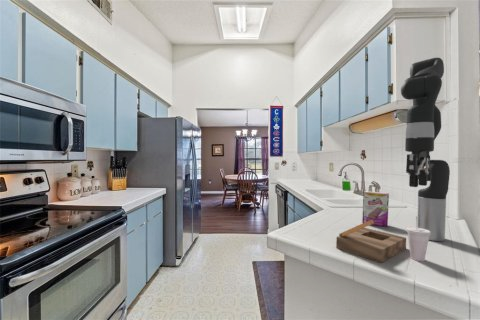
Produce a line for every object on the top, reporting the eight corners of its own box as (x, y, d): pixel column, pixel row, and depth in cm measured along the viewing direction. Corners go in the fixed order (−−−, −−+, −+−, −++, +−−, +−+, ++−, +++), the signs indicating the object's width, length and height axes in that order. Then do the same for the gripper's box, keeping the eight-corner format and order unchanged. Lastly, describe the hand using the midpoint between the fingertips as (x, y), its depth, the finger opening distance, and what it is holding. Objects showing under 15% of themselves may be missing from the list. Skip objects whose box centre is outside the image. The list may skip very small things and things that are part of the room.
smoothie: (400, 255, 80) (401, 214, 80) (418, 254, 80) (419, 214, 80) (416, 263, 73) (417, 219, 73) (435, 263, 74) (436, 219, 74)
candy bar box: (362, 223, 119) (363, 191, 119) (363, 221, 123) (363, 190, 123) (388, 227, 113) (388, 193, 113) (388, 225, 117) (388, 192, 117)
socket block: (364, 237, 98) (364, 227, 98) (406, 248, 86) (406, 237, 86) (336, 247, 85) (336, 236, 85) (380, 263, 73) (381, 250, 73)
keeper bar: (344, 235, 87) (342, 232, 87) (374, 223, 78) (372, 219, 79) (340, 237, 85) (338, 234, 85) (370, 224, 77) (368, 220, 77)
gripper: (413, 139, 84) (412, 184, 84) (397, 136, 76) (396, 186, 76) (440, 138, 78) (439, 186, 78) (426, 134, 70) (425, 188, 70)
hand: (418, 186), depth 77 cm, fingers open, 8 cm apart
